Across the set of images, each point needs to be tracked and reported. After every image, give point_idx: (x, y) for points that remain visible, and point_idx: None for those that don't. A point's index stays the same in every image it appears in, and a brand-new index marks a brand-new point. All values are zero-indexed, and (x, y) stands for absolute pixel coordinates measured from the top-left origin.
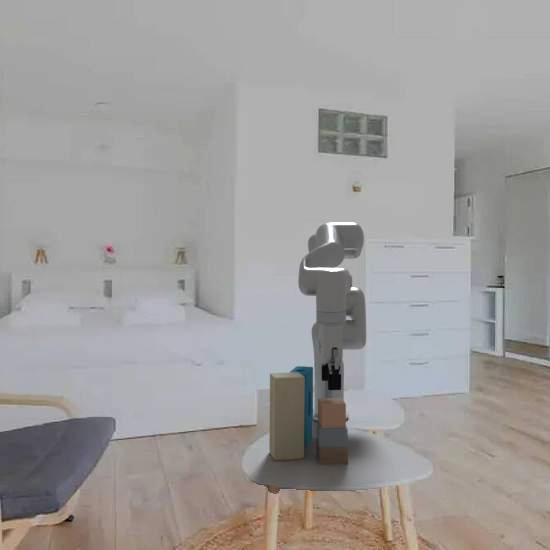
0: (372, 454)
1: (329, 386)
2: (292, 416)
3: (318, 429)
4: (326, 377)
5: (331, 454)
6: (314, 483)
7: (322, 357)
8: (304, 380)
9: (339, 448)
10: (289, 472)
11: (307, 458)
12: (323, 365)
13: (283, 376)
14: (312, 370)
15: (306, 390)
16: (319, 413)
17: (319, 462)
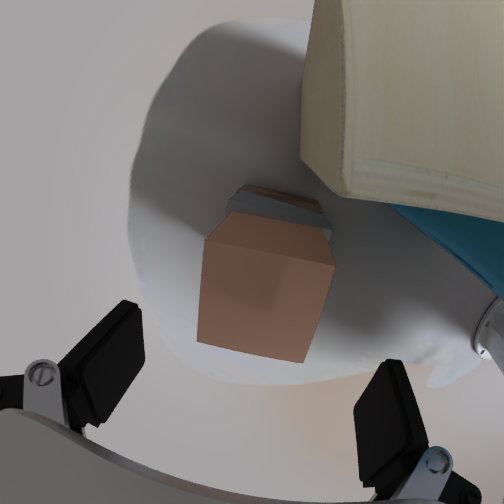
0: None
1: (115, 315)
2: (308, 110)
3: (271, 208)
4: (375, 394)
5: None
6: (147, 141)
7: (10, 478)
8: (330, 188)
9: None
10: (216, 98)
11: (298, 168)
12: (418, 451)
13: None
14: None
15: (461, 252)
16: (287, 234)
17: (254, 186)
